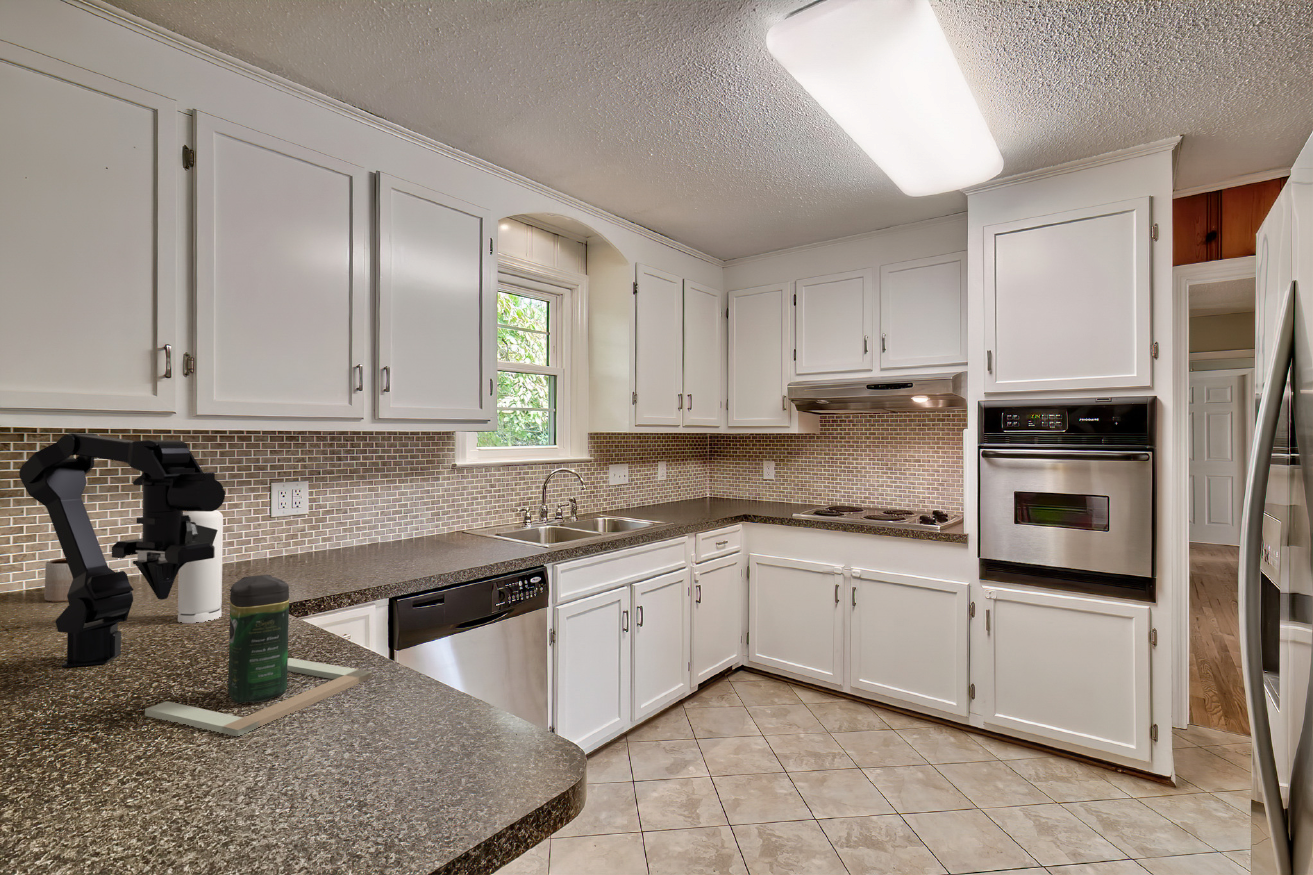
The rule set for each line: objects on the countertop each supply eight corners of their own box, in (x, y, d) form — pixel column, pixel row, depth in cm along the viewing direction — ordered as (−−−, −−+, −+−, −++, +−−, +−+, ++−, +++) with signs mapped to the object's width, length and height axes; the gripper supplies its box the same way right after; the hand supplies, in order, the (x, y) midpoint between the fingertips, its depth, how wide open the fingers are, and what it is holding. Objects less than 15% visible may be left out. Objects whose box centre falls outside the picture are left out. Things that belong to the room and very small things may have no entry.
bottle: (176, 617, 145) (178, 493, 146) (219, 611, 151) (220, 492, 151) (179, 625, 139) (181, 496, 140) (223, 618, 145) (226, 494, 145)
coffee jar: (292, 696, 101) (294, 578, 101) (233, 709, 96) (235, 585, 96) (280, 679, 109) (282, 569, 109) (224, 690, 103) (226, 575, 104)
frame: (144, 715, 94) (145, 708, 94) (289, 663, 116) (289, 657, 116) (237, 737, 87) (238, 729, 87) (372, 677, 110) (372, 671, 110)
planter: (53, 595, 165) (54, 557, 165) (107, 591, 170) (108, 554, 170) (36, 604, 156) (37, 565, 156) (94, 600, 161) (95, 561, 161)
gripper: (243, 508, 118) (243, 593, 118) (175, 505, 125) (175, 585, 124) (180, 514, 108) (179, 607, 107) (109, 510, 114) (109, 598, 114)
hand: (162, 598), depth 114 cm, fingers closed
